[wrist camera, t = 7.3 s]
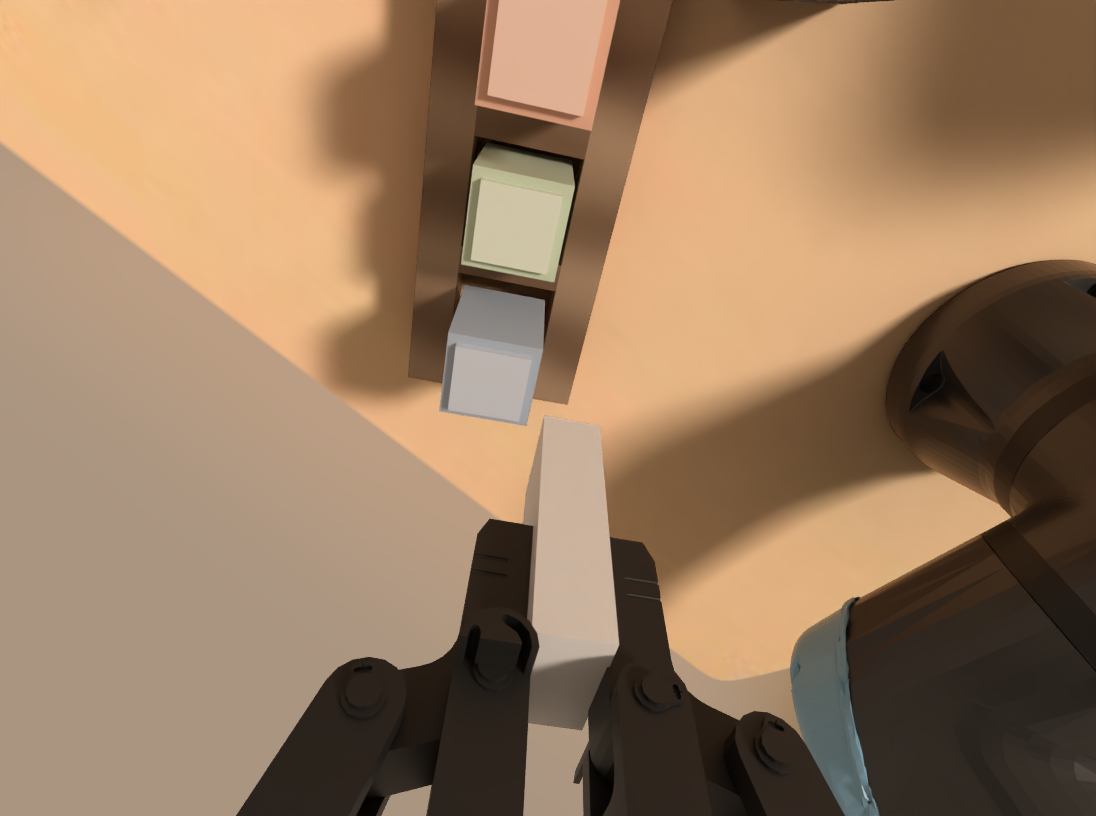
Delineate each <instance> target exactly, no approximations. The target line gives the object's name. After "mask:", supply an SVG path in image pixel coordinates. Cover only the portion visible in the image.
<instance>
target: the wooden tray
mask: <svg viewBox="0 0 1096 816" xmlns="http://www.w3.org/2000/svg"><path fill="white" fill-rule="evenodd" d="M672 2H673V0H620V4H619V8H618V13H617V17H616V22H615V27H614V31H613V36H612V40H611V45H610V49H609V54H608V58H607V63H606V67H605V72H604V77H603V81H602V86H601V90H600V95H599V99H598V104H597V108H596V113H595V117H594V122H593V127H592V131H589V130H585V129H580V128H576V127H572V126H567V125H563V124H558V123H554V122H549V121H545V120H540V119H536V118H531V117H527V116H522V115H518V114H513V113H509V112H504V111H500V110H496V109H491V108H487V107H482V106H478V105H475V98H476V89H477V81H478V72H479V63H480V55H481V46H482V37H483V29H484V20H485V11H486V3H487V0H437V5H436V19H435V32H434V45H433V58H432V71H431V84H430V97H429V111H428V124H427V137H426V150H425V163H424V176H423V190H422V203H421V216H420V229H419V242H418V255H417V268H416V282H415V295H414V308H413V321H412V334H411V347H410V361H409V374H408V377H411V378H417V379H422V380H428V381H434V382H440V383H443V374H444V366H445V357H446V348H447V339H448V332H449V329H450V326H451V323H452V321H453V318H454V315H455V312H456V309H457V306H458V304H459V300H460V292H461V283H462V275H463V274H469V275H474V276H479V277H484V278H489V279H494V280H500V281H505V282H510V283H515V284H520V285H525V286H531V287H536V288H541V289H546V290H551V291H552V292H551V297H550V302H549V306H548V311H547V316H546V320H545V325H544V343H543V353H542V358H541V362H540V367H539V371H538V376H537V380H536V385H535V390H534V394H533V399H537V400H543V401H549V402H555V403H560V404H566V405H567V404H568V400H569V396H570V393H571V389H572V385H573V381H574V377H575V373H576V370H577V366H578V362H579V358H580V354H581V350H582V347H583V343H584V339H585V335H586V331H587V327H588V324H589V320H590V316H591V312H592V308H593V305H594V301H595V297H596V293H597V289H598V285H599V282H600V278H601V274H602V270H603V266H604V262H605V259H606V255H607V251H608V247H609V243H610V239H611V236H612V232H613V228H614V224H615V220H616V216H617V213H618V209H619V205H620V201H621V197H622V193H623V190H624V186H625V182H626V178H627V174H628V170H629V167H630V163H631V159H632V155H633V151H634V148H635V144H636V140H637V136H638V132H639V128H640V125H641V121H642V117H643V113H644V109H645V105H646V102H647V98H648V94H649V90H650V86H651V82H652V79H653V75H654V71H655V67H656V63H657V59H658V56H659V52H660V48H661V44H662V40H663V36H664V33H665V29H666V25H667V21H668V17H669V13H670V10H671V6H672ZM479 137H483V138H488V139H492V140H497V141H502V142H506V143H511V144H515V145H520V146H524V147H529V148H534V149H538V150H543V151H547V152H552V153H557V154H561V155H566V156H570V157H575V158H579V159H580V162H579V167H578V171H577V176H576V181H575V189H574V193H573V198H572V203H571V207H570V212H569V216H568V221H567V226H566V230H565V235H564V240H563V244H562V249H561V253H560V258H559V263H558V267H557V272H556V277H555V281H554V282H549V281H544V280H539V279H534V278H529V277H524V276H519V275H514V274H508V273H503V272H498V271H493V270H488V269H483V268H478V267H473V266H467V265H462V264H461V261H462V253H463V244H464V236H465V228H466V219H467V211H468V202H469V194H470V186H471V177H472V169H473V164H474V162H475V161H476V159H477V153H478V145H479Z"/></svg>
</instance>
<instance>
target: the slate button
mask: <svg viewBox="0 0 1096 816" xmlns="http://www.w3.org/2000/svg"><path fill="white" fill-rule="evenodd" d="M544 315H545V300H542V299H537V298H532V297H527V296H521V295H516V294H511V293H506V292H501V291H495V290H490V289H485V288H480V287H474V286H469V285H465V287H464V289H463V292H462V295H461V298H460V301H459V304H458V306H457V309H456V312H455V315H454V318H453V321H452V323H451V326H450V329H449V332H448V339H447V348H446V357H445V366H444V374H443V383H442V392H441V400H440V409H439V411H441V412H447V413H453V414H459V415H465V416H471V417H477V418H482V419H488V420H494V421H500V422H506V423H512V424H518V425H524V426H527V421H528V417H529V412H530V408H531V403H532V399H533V394H534V390H535V385H536V380H537V376H538V371H539V367H540V362H541V358H542V353H543V343H544Z"/></svg>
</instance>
